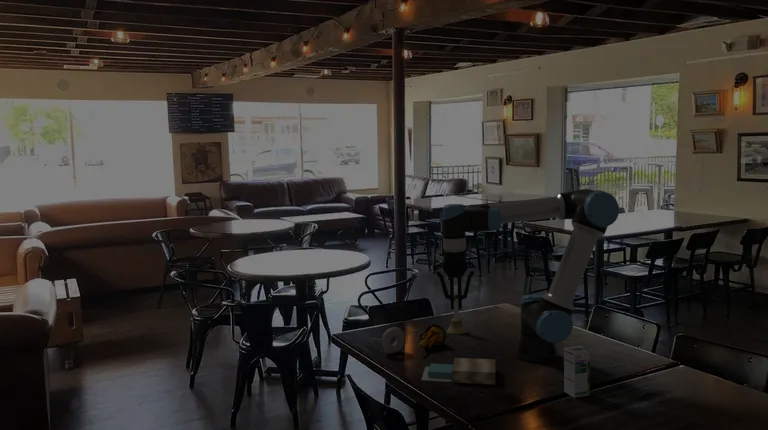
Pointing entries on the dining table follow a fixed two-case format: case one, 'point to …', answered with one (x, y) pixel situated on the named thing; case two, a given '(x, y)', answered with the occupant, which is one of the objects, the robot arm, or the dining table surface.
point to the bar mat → (426, 378)
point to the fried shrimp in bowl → (432, 337)
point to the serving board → (473, 371)
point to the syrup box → (577, 371)
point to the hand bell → (456, 325)
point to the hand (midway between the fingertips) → (456, 318)
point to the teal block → (440, 370)
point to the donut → (387, 340)
